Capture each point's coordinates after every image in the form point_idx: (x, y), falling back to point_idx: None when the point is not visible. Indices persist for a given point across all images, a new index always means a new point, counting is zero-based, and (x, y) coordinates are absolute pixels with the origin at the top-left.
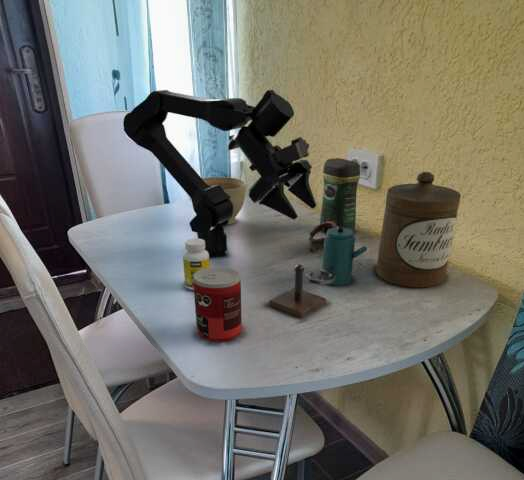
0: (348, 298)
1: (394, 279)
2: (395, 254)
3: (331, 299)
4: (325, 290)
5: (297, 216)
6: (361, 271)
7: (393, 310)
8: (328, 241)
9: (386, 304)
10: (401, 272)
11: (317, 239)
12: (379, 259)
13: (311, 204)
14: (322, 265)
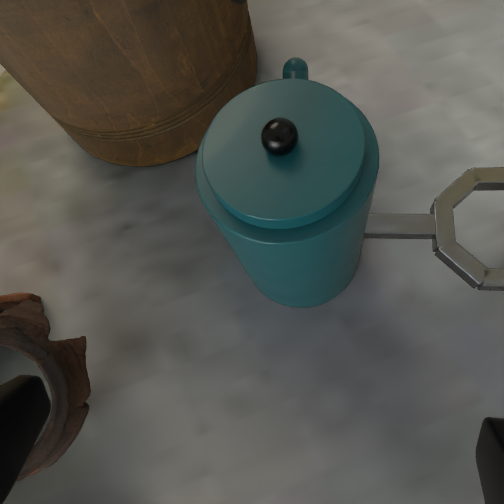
0: (433, 162)
1: (250, 77)
2: (229, 11)
3: (477, 206)
4: (415, 252)
5: (488, 417)
6: (187, 203)
7: (436, 35)
8: (369, 199)
9: (407, 61)
10: (248, 38)
11: (54, 414)
12: (178, 116)
13: (21, 427)
14: (321, 289)
